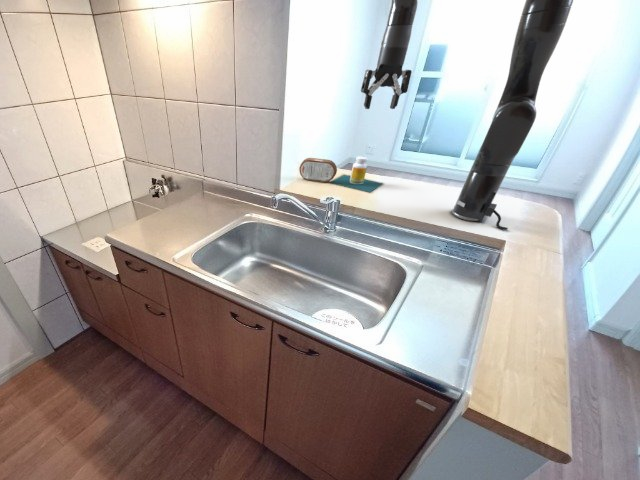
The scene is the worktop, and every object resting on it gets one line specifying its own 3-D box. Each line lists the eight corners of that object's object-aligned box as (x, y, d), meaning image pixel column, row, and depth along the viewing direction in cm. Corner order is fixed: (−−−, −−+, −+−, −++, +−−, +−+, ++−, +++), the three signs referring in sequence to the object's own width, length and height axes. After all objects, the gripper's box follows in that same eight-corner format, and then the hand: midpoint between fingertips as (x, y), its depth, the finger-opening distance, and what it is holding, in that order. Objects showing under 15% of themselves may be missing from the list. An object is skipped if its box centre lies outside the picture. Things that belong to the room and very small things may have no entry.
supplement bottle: (364, 185, 130) (370, 159, 124) (351, 184, 130) (356, 159, 124) (361, 180, 134) (366, 155, 128) (348, 180, 134) (353, 155, 128)
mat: (382, 183, 132) (382, 183, 131) (369, 192, 124) (369, 191, 124) (344, 175, 140) (344, 174, 140) (329, 182, 132) (329, 182, 132)
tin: (335, 181, 133) (338, 160, 128) (333, 183, 131) (337, 162, 125) (299, 177, 138) (301, 156, 133) (297, 179, 136) (299, 158, 130)
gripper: (376, 45, 92) (362, 110, 102) (424, 45, 93) (406, 110, 103) (366, 45, 98) (354, 107, 108) (411, 45, 99) (395, 106, 109)
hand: (379, 108), depth 105 cm, fingers open, 8 cm apart
